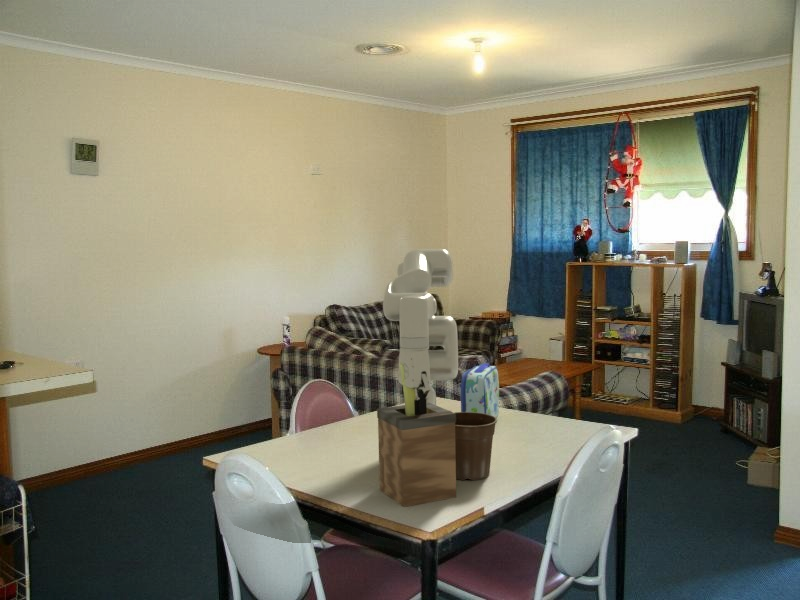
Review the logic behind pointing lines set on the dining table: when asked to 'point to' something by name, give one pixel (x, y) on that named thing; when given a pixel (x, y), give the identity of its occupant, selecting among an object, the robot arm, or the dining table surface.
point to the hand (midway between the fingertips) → (415, 411)
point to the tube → (408, 396)
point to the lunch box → (480, 390)
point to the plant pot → (473, 444)
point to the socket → (417, 454)
